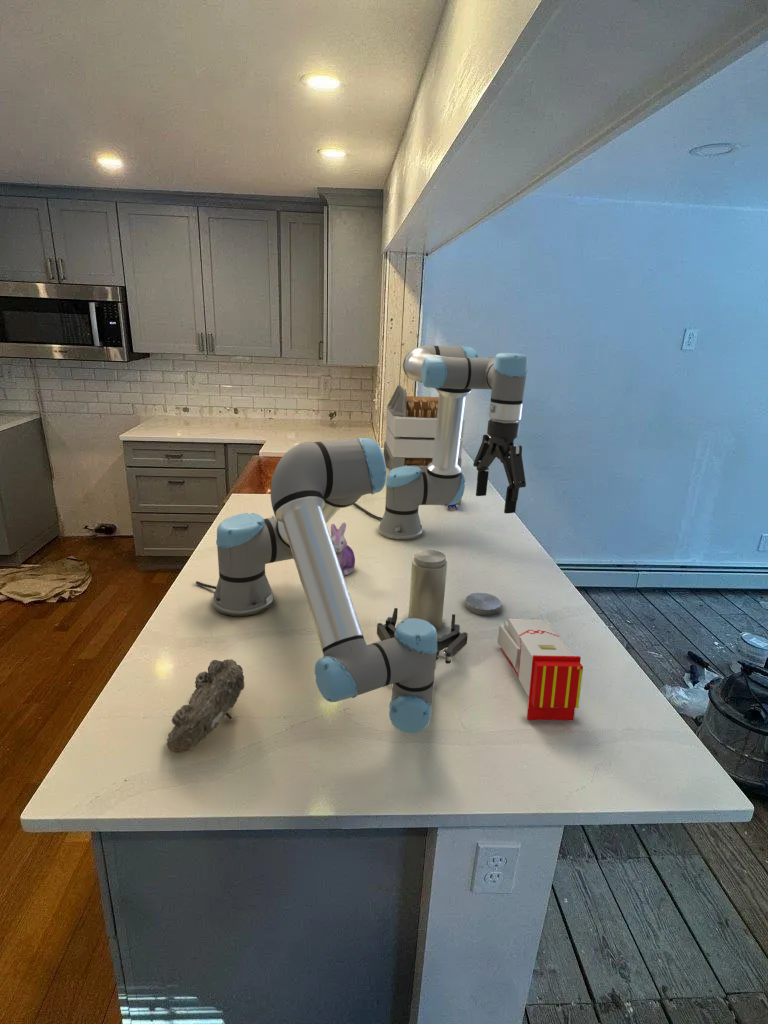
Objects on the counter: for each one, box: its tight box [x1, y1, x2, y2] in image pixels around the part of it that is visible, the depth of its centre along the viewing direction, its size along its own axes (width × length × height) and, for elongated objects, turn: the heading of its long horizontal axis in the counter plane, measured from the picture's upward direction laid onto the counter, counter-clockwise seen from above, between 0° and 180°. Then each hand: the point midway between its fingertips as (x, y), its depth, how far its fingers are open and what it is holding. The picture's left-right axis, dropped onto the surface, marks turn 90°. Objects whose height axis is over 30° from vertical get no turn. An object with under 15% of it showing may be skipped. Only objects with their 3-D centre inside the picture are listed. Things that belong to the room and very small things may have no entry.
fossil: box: [166, 658, 245, 754], centre depth 106 cm, size 22×10×15 cm
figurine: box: [330, 522, 356, 576], centre depth 167 cm, size 9×10×15 cm
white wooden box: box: [383, 384, 465, 471], centre depth 268 cm, size 34×33×41 cm
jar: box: [407, 548, 448, 631], centre depth 141 cm, size 9×9×19 cm
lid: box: [464, 592, 502, 617], centre depth 153 cm, size 10×10×2 cm
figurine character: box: [447, 499, 462, 510], centre depth 230 cm, size 7×8×15 cm
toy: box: [497, 618, 584, 722], centre depth 122 cm, size 12×13×30 cm
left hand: (424, 616), depth 134 cm, fingers open, 13 cm apart
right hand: (494, 503), depth 143 cm, fingers open, 13 cm apart
